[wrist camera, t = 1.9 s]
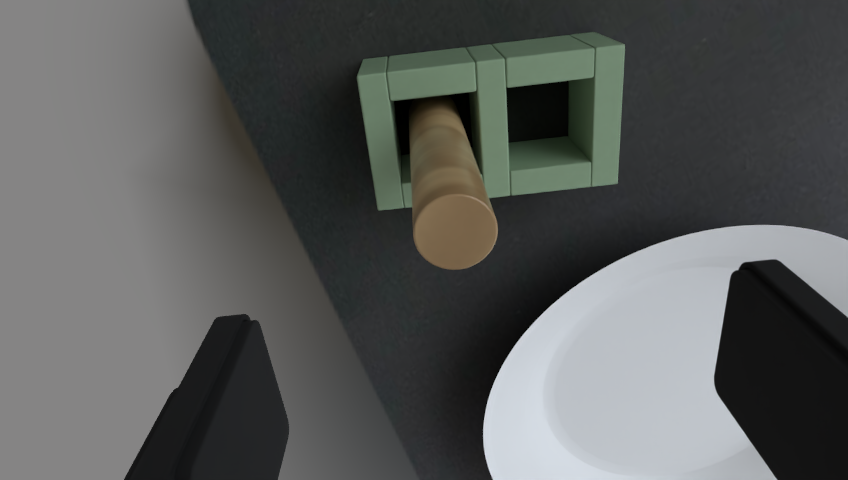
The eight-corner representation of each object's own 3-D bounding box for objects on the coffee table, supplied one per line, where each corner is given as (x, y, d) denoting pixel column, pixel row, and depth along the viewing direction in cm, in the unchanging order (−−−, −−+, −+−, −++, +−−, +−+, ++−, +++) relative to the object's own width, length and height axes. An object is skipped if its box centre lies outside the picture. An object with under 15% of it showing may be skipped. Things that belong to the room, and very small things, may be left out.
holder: (380, 179, 29) (377, 211, 25) (362, 59, 26) (356, 75, 22) (591, 155, 29) (617, 184, 25) (594, 31, 26) (625, 44, 22)
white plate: (480, 523, 41) (486, 571, 38) (470, 214, 30) (478, 245, 27) (818, 497, 41) (853, 543, 38) (938, 178, 30) (1003, 205, 27)
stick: (411, 141, 28) (418, 274, 16) (405, 93, 27) (408, 199, 15) (459, 136, 28) (500, 265, 16) (455, 87, 27) (496, 189, 15)
